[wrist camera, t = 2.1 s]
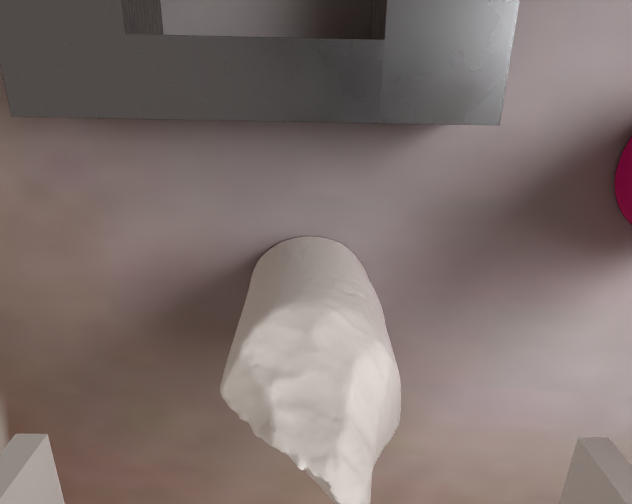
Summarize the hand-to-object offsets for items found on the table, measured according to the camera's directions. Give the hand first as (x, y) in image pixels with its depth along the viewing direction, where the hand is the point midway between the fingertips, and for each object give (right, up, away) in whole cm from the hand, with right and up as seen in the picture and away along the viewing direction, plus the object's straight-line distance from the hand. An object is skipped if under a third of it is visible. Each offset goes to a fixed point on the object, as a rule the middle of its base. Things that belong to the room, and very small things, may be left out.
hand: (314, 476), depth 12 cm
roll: (0, +4, +10) cm, 11 cm away
